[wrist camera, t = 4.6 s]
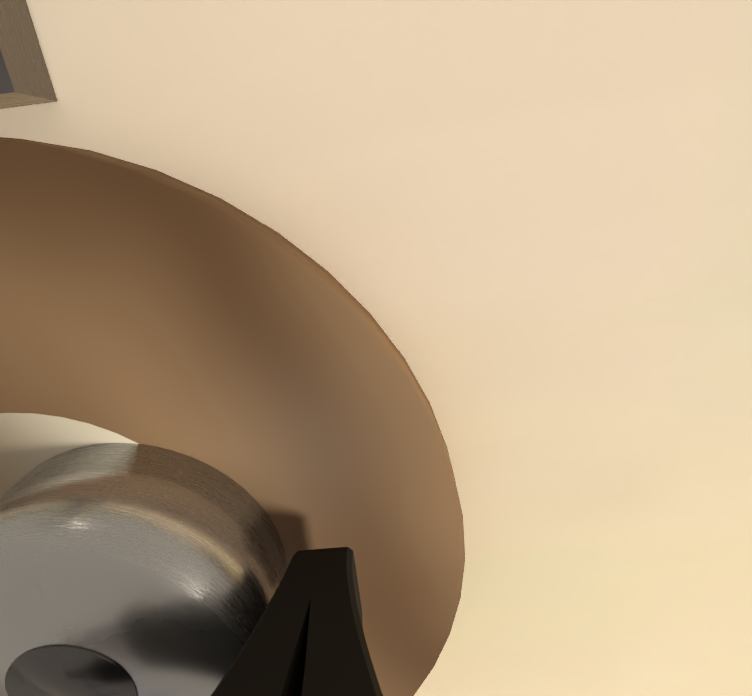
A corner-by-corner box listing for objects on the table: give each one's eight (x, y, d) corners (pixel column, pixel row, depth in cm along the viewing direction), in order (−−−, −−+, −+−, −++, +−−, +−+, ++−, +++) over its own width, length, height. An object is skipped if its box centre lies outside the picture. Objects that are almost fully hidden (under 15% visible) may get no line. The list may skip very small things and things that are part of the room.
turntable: (135, 837, 18) (121, 875, 17) (-467, 504, 12) (-538, 533, 11) (601, 577, 13) (618, 609, 12) (-25, -137, 8) (-81, -180, 7)
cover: (159, 697, 13) (101, 841, 11) (-60, 549, 12) (-204, 677, 9) (344, 578, 12) (335, 709, 9) (127, 384, 10) (26, 472, 7)
